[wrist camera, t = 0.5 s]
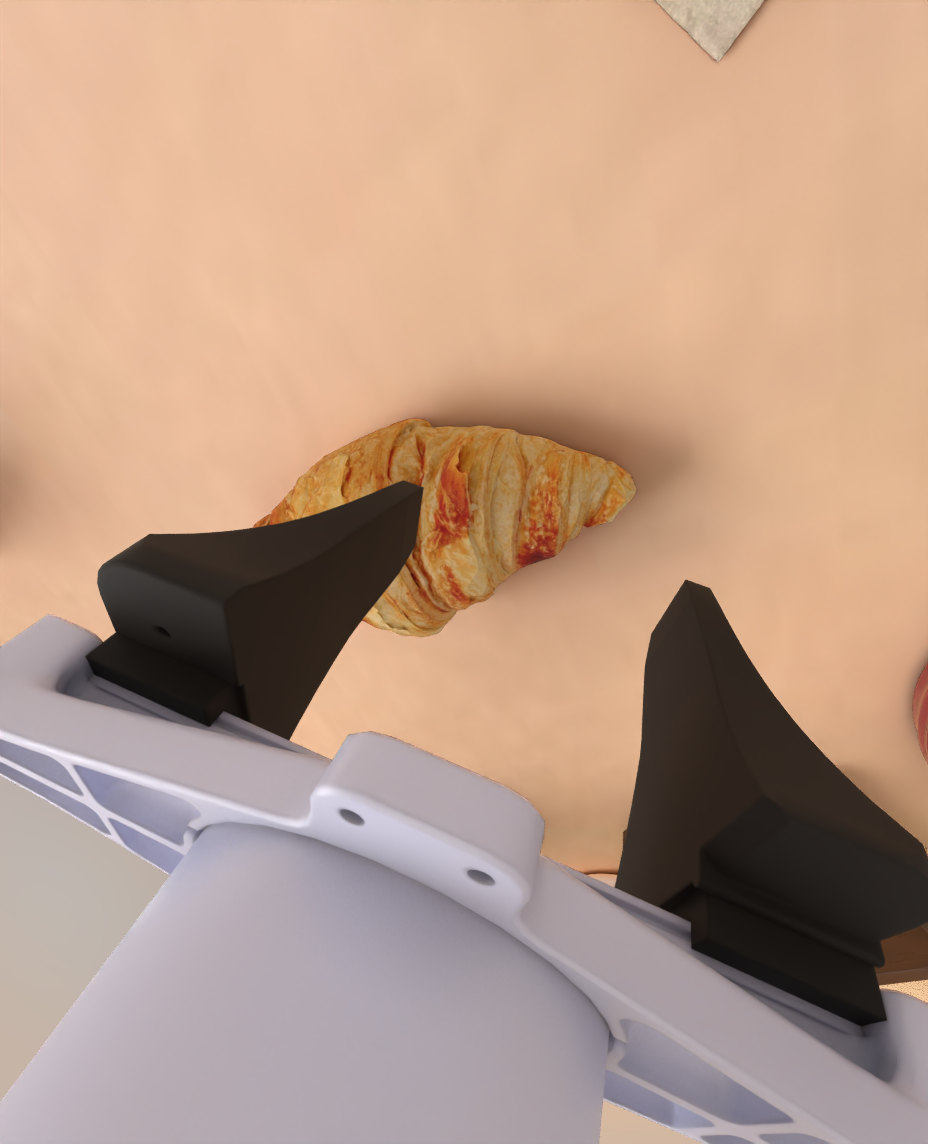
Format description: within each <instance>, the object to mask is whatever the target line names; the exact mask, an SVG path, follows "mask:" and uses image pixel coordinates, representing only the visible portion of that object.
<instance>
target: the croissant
mask: <svg viewBox="0 0 928 1144" xmlns="http://www.w3.org/2000/svg"><path fill="white" fill-rule="evenodd" d="M632 478H633V477H632V476H631V475H630V474H629V473H628V472H627V471H626V470H625V469H623V468H621V467H620V466H618V465H617V464H615V463H614V462H612V461H609V462H606V460H604V459H602V458H600V457H599V456H596V455H593V454H589V453H586V452H582V451H577V450H573V449H570V448H568V447H565V446H562V445H560V444H558V443H556V442H554V441H552V440H549V439H546V438H543V437H539V436H530V435H521V434H519V433H518V432H516V431H515V430H512V429H500V428H494V427H491V426H482V425H478V426H474V427H453V426H444V427H435V428H433V427H432V426H431V425H430V423H429V422H427V421H426V420H424V419H416V418H413V419H406V420H403V421H400V422H397V423H394V424H392V425H390V426H388V427H386V428H382V429H379V430H377V431H375V432H373V433H371V434H369V435H366V436H364V437H362V438H360V439H358V440H356V441H354V442H352V443H350V444H348V445H346V446H344V447H342V448H340V449H338V450H336V451H334V452H332V453H330V454H328V455H326V456H324V457H323V458H322V459H321V460H320V461H319V462H317V463H316V464H315V465H314V466H312V467H311V469H310V470H309V471H308V472H307V473H306V474H304V475H303V476H301V477H300V478H299V479H298V481H297V483H296V486H295V487H294V489H293V490H291V491H290V492H289V494H288V495H287V496H286V497H285V498H284V500H283V501H282V502H281V503H280V504H279V505H278V506H277V507H276V508H275V509H274V510H273V511H272V514H269V515H267V516H266V517H264V518H263V519H261V520H260V521H258V522H257V523H256V524H255V525H254V527H253V528H255V527H261V526H267V525H273V524H278V523H283V522H287V521H291V520H295V519H300V518H303V517H307V516H311V515H314V514H317V513H320V512H323V511H326V510H329V509H332V508H335V507H337V506H340V505H343V504H346V503H349V502H351V501H354V500H356V499H359V498H361V497H364V496H366V495H369V494H371V493H373V492H376V491H378V490H380V489H383V488H385V487H387V486H390V485H392V484H395V483H397V482H400V481H403V480H404V481H407V482H410V483H413V484H416V485H419V486H421V487H424V490H423V496H422V503H421V510H420V517H419V524H418V531H417V537H416V544H415V547H414V549H413V551H412V552H411V554H410V556H409V558H408V559H407V561H406V563H405V565H404V566H403V568H402V570H401V571H400V573H399V574H398V575H397V577H396V578H395V579H394V581H393V582H392V583H391V584H390V586H389V587H388V588H387V589H386V591H385V592H384V593H383V595H382V596H381V597H380V598H379V600H378V601H377V602H376V603H375V605H374V606H373V607H372V608H371V610H370V611H369V612H368V613H367V615H366V616H365V617H364V618H363V620H362V621H364V622H366V623H368V624H370V625H372V626H374V627H376V628H379V629H385V630H389V631H392V632H395V633H397V634H399V635H404V636H417V637H425V636H430V635H434V634H437V633H439V632H440V631H441V630H442V629H443V627H444V626H445V625H446V624H447V623H448V621H450V620H451V619H452V617H453V616H454V615H455V614H456V612H457V611H458V610H463V609H466V608H467V607H469V605H472V604H474V603H477V602H483V601H485V600H487V599H488V598H489V597H490V596H492V595H493V594H494V593H493V592H494V590H495V587H497V586H498V585H499V584H500V583H501V582H503V581H505V580H506V579H507V578H508V577H509V576H510V575H511V574H513V573H515V572H516V571H517V570H518V569H520V568H522V567H525V566H528V565H531V564H533V563H536V562H539V561H542V560H545V559H548V558H551V557H554V556H555V555H557V554H558V553H559V552H560V551H561V550H562V549H563V548H564V546H565V544H566V542H568V541H570V540H572V539H574V538H576V537H577V536H578V535H579V533H580V531H581V529H582V527H583V526H585V527H587V528H588V527H592V526H597V525H601V524H603V523H605V522H612V521H613V519H614V518H615V517H616V515H617V514H618V513H619V512H620V511H621V510H622V509H623V508H624V506H625V505H626V504H627V503H629V502H630V501H631V500H632V498H633V497H634V495H635V493H636V492H637V490H636V488H635V486H634V483H633V481H632Z"/></svg>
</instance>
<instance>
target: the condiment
mask: <svg viewBox="0 0 928 1144" xmlns="http://www.w3.org/2000/svg"><path fill="white" fill-rule="evenodd" d="M655 1H656V2H657V3H658V4H660V5H661V6H662V7H663V9H664V10H665V11H666V12H667V13H668V14H669V15H670V16H671V17H672V18H673V19H674V20H675V21H676V22H677V23H678V24H679V25H680V26H681V27H683V28H684V29H685V30H686V31H687V32H688V34H689V35H690V36H691V37H692V38H693V39H694V40H695V41H696V42H697V43H698V44H699V45H700V46H701V47H702V48H703V49H704V50H705V51H706V52H707V53H708V54H709V55H711V56H712V57H713V58H714V59H716V60H717V61H718V62H719V61H720V60H721V58H722V57H723V55H724V54H725V53H726V51H727V50H728V49H729V47H730V46H731V45H732V43H733V42H734V40H735V39H736V38H737V36H738V35H739V34H740V32H741V31H742V30H743V28H744V27H745V25H746V24H747V23H748V21H749V20H750V19H751V17H752V16H753V15H754V14H755V12H756V11H757V9H758V8H759V7H760V5H761V4H762V2H763V1H764V0H655Z"/></svg>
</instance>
